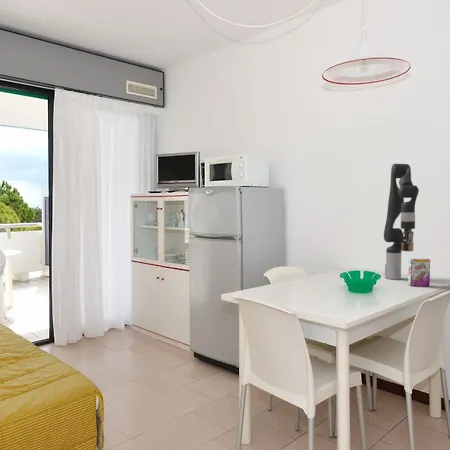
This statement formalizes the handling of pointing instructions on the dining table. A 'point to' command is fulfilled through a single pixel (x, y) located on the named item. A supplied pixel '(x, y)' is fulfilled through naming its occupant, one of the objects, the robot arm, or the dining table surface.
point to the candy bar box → (419, 272)
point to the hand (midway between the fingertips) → (407, 249)
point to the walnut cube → (410, 246)
